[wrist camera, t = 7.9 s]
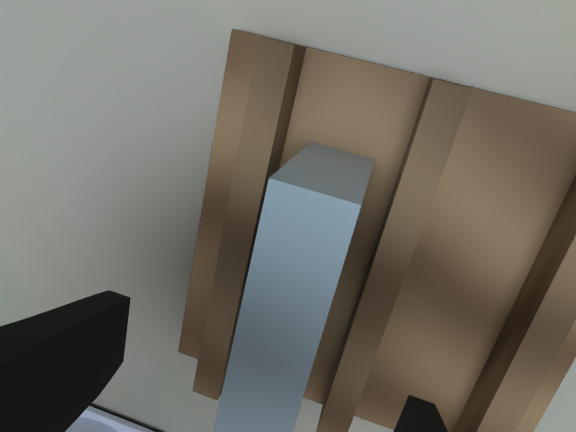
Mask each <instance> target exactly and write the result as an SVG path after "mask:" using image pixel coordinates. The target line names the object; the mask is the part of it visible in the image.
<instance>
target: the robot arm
mask: <svg viewBox="0 0 576 432" xmlns="http://www.w3.org/2000/svg"><path fill="white" fill-rule="evenodd" d="M129 306H130V297H127V296H124V295H121V294H118V293H116V292H113V291H110V290H109V291H105V292H102V293H99V294H95V295H93V296H90V297H87V298H84V299H81V300H78V301H75V302H72V303H70V304H67V305H64V306H61V307H58V308H55V309H52V310H50V311H47V312H44V313H41V314H38V315H35V316H32V317H29V318H26V319H23V320H20V321H17V322H13V323H10V324H7V325H4V326H0V432H155V431H152V430H150V429H147V428H145V427H142V426H140V425H137V424H134V423H132V422H129V421H127V420H124V419H122V418H119V417H117V416H114V415H112V414H109V413H106V412H104V411H101V410H99V409H96V408H94V407H91V406H90V404H91V403H92V402H93V401H94V400H95V399H96V398H97V397H98V396H99V394H100V393H101V392H102V390H103V389H104V388H105V386H106V385H107V384H108V382H109V381H110V380H111V378H112V377H113V375H114V374H115V373H116V371H117V370H118V368H119V367H120V365H121V364H122V363H123V359H124V350H125V341H126V333H127V324H128V315H129ZM394 432H448V430H447V428H446V426H445V424H444V422H443V420H442V417H441V415H440V413H439V411H438V409H437V407H436V405H435V404H434V403H431V402H428V401H425V400H423V399H420V398H417V397H414V396H411V395H408V398H407V400H406V403H405V405H404V407H403V410H402V412H401V415H400V417H399V419H398V422H397V424H396V427H395V429H394Z"/></svg>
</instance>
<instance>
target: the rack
mask: <svg viewBox="0 0 576 432" xmlns="http://www.w3.org/2000/svg"><path fill="white" fill-rule="evenodd" d="M310 142H314V143H318V144H322V145H325V146H329V147H333V148H336V149H340V150H343V151H347V152H351V153H354V154H358V155H361V156H365V157H369V158H372V159H375V161H374V164H373V167H372V171H371V174H370V178H369V181H368V184H367V188H366V191H365V195H364V198H363V202H362V205H361V208H360V212H359V215H358V218H357V221H356V225H355V228H354V231H353V235H352V238H351V241H350V244H349V248H348V251H347V254H346V257H345V261H344V264H343V267H342V271H341V274H340V277H339V280H338V284H337V287H336V290H335V294H334V297H333V300H332V303H331V307H330V310H329V313H328V316H327V320H326V323H325V326H324V330H323V333H322V336H321V339H320V343H319V346H318V349H317V353H316V356H315V359H314V362H313V366H312V369H311V372H310V376H309V379H308V382H307V385H306V389H305V392H304V395H303V397H304V398H307V399H310V400H312V401H315V402H318V403H321V404H323V406H322V410H321V414H320V419H319V423H318V427H317V431H316V432H348V430H349V428H350V425H351V422H352V419H353V417H354V416H357V417H359V418H362V419H365V420H368V421H370V422H373V423H376V424H379V425H382V426H384V427H387V428H390V429H393V430H394V429H395V427H396V424H397V422H398V419H399V417H400V415H401V412H402V410H403V407H404V405H405V403H406V400H407V398H408V395H411V396H414V397H417V398H420V399H423V400H425V401H428V402H431V403H434V404H435V405H436V407H437V409H438V411H439V413H440V415H441V417H442V420H443V422H444V424H445V426H446V428H447V430H448V432H534V430H535V428H536V426H537V424H538V423H539V421H540V419H541V417H542V416H543V414H544V412H545V410H546V409H547V407H548V405H549V403H550V401H551V400H552V398H553V396H554V394H555V393H556V391H557V389H558V387H559V386H560V384H561V382H562V380H563V378H564V377H565V375H566V373H567V371H568V370H569V368H570V366H571V364H572V363H573V361H574V359H575V357H576V113H575V112H571V111H567V110H563V109H559V108H555V107H551V106H547V105H542V104H538V103H534V102H530V101H526V100H522V99H518V98H514V97H510V96H506V95H502V94H498V93H494V92H489V91H485V90H481V89H477V88H473V87H469V86H465V85H461V84H457V83H453V82H449V81H445V80H441V79H437V78H432V77H428V76H424V75H420V74H416V73H412V72H408V71H404V70H400V69H396V68H392V67H388V66H384V65H379V64H375V63H371V62H367V61H363V60H359V59H355V58H351V57H347V56H343V55H339V54H335V53H331V52H327V51H322V50H318V49H314V48H310V47H306V46H302V45H298V44H294V43H290V42H286V41H282V40H278V39H274V38H269V37H265V36H261V35H257V34H253V33H249V32H245V31H241V30H236V29H232V31H231V37H230V43H229V49H228V55H227V61H226V67H225V73H224V79H223V85H222V91H221V97H220V104H219V110H218V116H217V122H216V128H215V134H214V140H213V146H212V152H211V158H210V164H209V170H208V176H207V182H206V188H205V194H204V200H203V206H202V212H201V218H200V224H199V230H198V236H197V242H196V248H195V254H194V260H193V266H192V272H191V278H190V284H189V290H188V296H187V302H186V308H185V314H184V320H183V326H182V332H181V338H180V344H179V350H178V352H180V353H183V354H185V355H188V356H191V357H194V358H196V359H198V364H197V370H196V375H195V380H194V386H193V391H194V392H197V393H199V394H202V395H205V396H207V397H210V398H213V399H215V400H218V398H219V397H220V395H221V393H222V390H223V385H224V381H225V376H226V372H227V367H228V362H229V358H230V353H231V349H232V344H233V340H234V335H235V331H236V326H237V321H238V317H239V312H240V308H241V303H242V299H243V294H244V289H245V285H246V280H247V276H248V271H249V267H250V262H251V258H252V253H253V248H254V244H255V239H256V235H257V230H258V226H259V221H260V217H261V212H262V207H263V203H264V198H265V194H266V189H267V185H268V180H269V178H270V177H271V176H272V175H273V174H274V173H275V172H277V171H278V170H279V169H280V168H281V167H282V166H284V165H285V164H286V163H287V162H288V161H289V160H291V159H292V158H293V157H294V156H295V155H296V154H298V153H299V152H300V151H301V150H302V149H303V148H305V147H306V146H307V145H308V144H309V143H310Z"/></svg>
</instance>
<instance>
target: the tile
mask: <svg viewBox="0 0 576 432" xmlns="http://www.w3.org/2000/svg"><path fill="white" fill-rule="evenodd" d="M374 161H375V159H372V158H369V157H365V156H361V155H358V154H354V153H351V152H347V151H343V150H340V149H336V148H333V147H329V146H325V145H322V144H318V143H314V142H310V143H309V144H308V145H307V146H306V147H305V148H303V149H302V150H301V151H300V152H299V153H298V154H296V155H295V156H294V157H293V158H292V159H291V160H289V161H288V162H287V163H286V164H285V165H284V166H282V167H281V168H280V169H279V170H278V171H277V172H275V173H274V174H273V175H272V176H271V177H270V178H269V180H268V185H267V189H266V194H265V198H264V203H263V207H262V212H261V217H260V221H259V226H258V230H257V235H256V239H255V244H254V248H253V253H252V258H251V262H250V267H249V271H248V276H247V280H246V285H245V289H244V294H243V299H242V303H241V308H240V312H239V317H238V321H237V326H236V331H235V335H234V340H233V344H232V349H231V353H230V358H229V362H228V367H227V372H226V376H225V381H224V385H223V390H222V394H221V399H220V403H219V408H218V413H217V417H216V422H215V426H214V431H216V432H292V431H293V428H294V425H295V421H296V418H297V415H298V412H299V408H300V405H301V402H302V398H303V395H304V392H305V389H306V385H307V382H308V379H309V376H310V372H311V369H312V366H313V362H314V359H315V356H316V353H317V349H318V346H319V343H320V339H321V336H322V333H323V330H324V326H325V323H326V320H327V316H328V313H329V310H330V307H331V303H332V300H333V297H334V294H335V290H336V287H337V284H338V280H339V277H340V274H341V271H342V267H343V264H344V261H345V257H346V254H347V251H348V248H349V244H350V241H351V238H352V235H353V231H354V228H355V225H356V221H357V218H358V215H359V212H360V208H361V205H362V202H363V198H364V195H365V191H366V188H367V184H368V181H369V178H370V174H371V171H372V167H373V164H374Z"/></svg>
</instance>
